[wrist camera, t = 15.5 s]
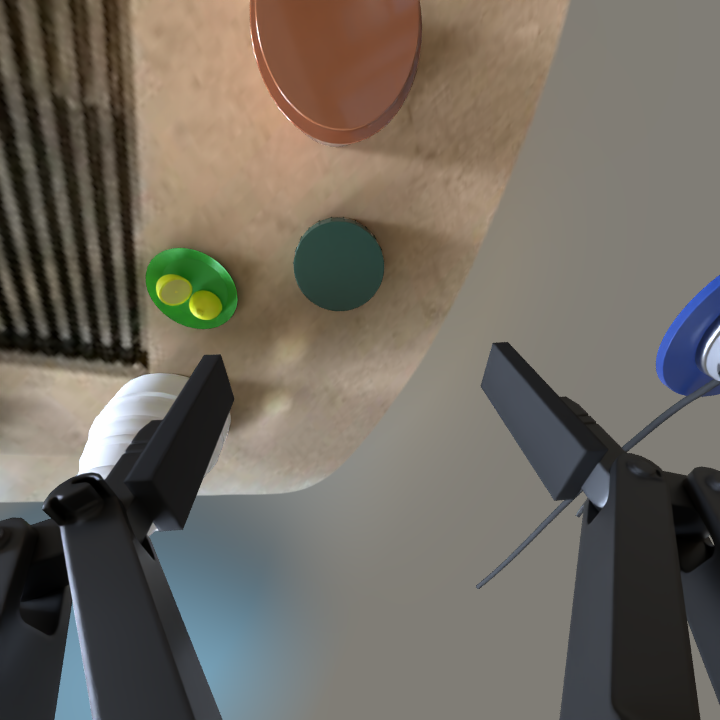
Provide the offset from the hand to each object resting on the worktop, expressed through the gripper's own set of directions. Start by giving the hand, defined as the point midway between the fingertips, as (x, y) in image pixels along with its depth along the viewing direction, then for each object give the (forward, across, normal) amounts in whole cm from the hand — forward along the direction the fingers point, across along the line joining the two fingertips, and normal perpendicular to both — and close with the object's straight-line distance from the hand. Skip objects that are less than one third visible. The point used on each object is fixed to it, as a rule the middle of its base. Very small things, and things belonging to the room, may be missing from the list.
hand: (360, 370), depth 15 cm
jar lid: (+16, -1, 0) cm, 16 cm away
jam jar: (+17, -1, +13) cm, 22 cm away
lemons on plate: (+17, -15, -2) cm, 23 cm away
